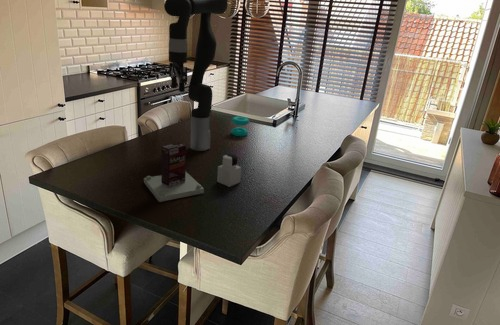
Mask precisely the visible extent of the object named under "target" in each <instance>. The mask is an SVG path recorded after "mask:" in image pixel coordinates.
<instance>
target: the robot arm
mask: <svg viewBox="0 0 500 325" xmlns="http://www.w3.org/2000/svg"><path fill="white" fill-rule="evenodd" d="M228 4H229V0H165V1H164V4H163V6H164V7H163V8H164V11H165V13H166V14H167V15H169V16H172V17H177V18H178V19H177V21H176V22H172V23H169V27H168V28H169V29H168V32H169V33H168V62H169V64H168V66H169V68H168V71H169V72H168V76H169V78H170V79H171V88H172V89H176V88H177V87H178V91H179V93H184V92H185V89H186V88H185V87H186V86H185V85H186V83H187V82H188V66H184V64H187V63H188V40H187V39H188V37H187V36H188V31H187V30H188V26H189V22H190V18H191V16H192V15H199V14H200V17H199V18H200V20H199V31H198V38H197V42H196V46H195V47H196V48H195V56H194V61H193V62H194V63H193V69H192V72H191V73H192V74H191V77H190V80H189V85H188V89H187V95H188V98H189V101H192V102H196V103H197V108H196V107H195V108H192V109H191V111H190V112H191V113H190V149H191V150H192V151H196V152H204V151H207V150H210V149H211V130H210V114H211V111H212V106H213V105H212V104H213V89H212V87H211V86H210V85H209V84H205V83H203V82H204V81H203V80H204V76H205V73H206V71H207V69H208V68H209V67H210V66H211V64H212V63H213V61H214V60H215V57H216V50H217V40H216V36H215V34H214V31H213V28H212V25H211V16H212V14H215V15H223V14H225V13H226V11H227V10H228Z"/></svg>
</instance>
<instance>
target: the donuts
mask: <svg viewBox="0 0 500 325" xmlns="http://www.w3.org/2000/svg"><path fill="white" fill-rule="evenodd" d="M231 122H232V123H233V124H234V125H236V126H246V125H248V124H249V123H250V119H249V118H247V117H245V116H234V117H232V118H231ZM230 134H232V136H235V137H240V138H241V137H246V136H248V135H249V131H248V130H247V128H244V127H234V128H232V129H231V132H230Z"/></svg>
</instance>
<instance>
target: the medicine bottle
mask: <svg viewBox="0 0 500 325" xmlns="http://www.w3.org/2000/svg"><path fill="white" fill-rule="evenodd" d="M241 175H242V167H241V166H239V165H238V156H237V155H235V154H232V153H228V154H224V155H223V156H222V164H221V165H218V166H217V178H216V181H217V183H219V184H221V185H223V186H226V187H227V188H230V187H232V186H235V185H237V184H239V183H241V178H242V176H241Z"/></svg>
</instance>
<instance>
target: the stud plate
mask: <svg viewBox="0 0 500 325" xmlns="http://www.w3.org/2000/svg"><path fill="white" fill-rule="evenodd" d="M161 178H162V177H161V174H160V175H154V176H151V175H146V177H144V178H143V183H144V185H145V186H146V187H147V188H148V189H149V191H150V192H151V194H152V195H153V196H154V197H155V199H156V200H157V201H158V202H159V203H162V202H166V201H171V200H177V199H180V198H185V197H186V198H187V197H191V196H196V195H201V194H204V193H205V188H204V187H203V186H202V185H201V184H200V183H199V182H198V181H197V180H196V179H194V178H193V177H192V175H190V174H189V173H188V172H187V171H186V172H185V182H184V183H181V184H178V185H175V186H172V187H170V188H168V187H166V186H164V185H162V181H161Z"/></svg>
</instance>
